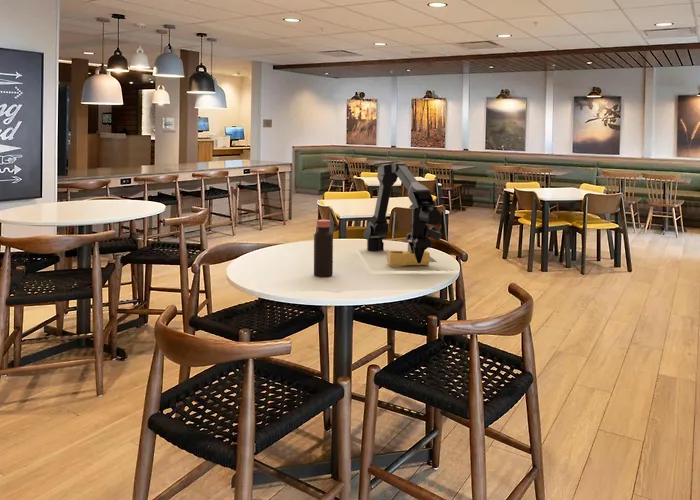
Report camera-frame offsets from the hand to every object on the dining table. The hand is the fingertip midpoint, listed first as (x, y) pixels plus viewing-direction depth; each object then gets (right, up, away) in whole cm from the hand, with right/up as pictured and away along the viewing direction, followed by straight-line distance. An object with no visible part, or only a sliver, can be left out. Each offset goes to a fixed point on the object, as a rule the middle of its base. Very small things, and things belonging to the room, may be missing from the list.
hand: (417, 261), depth 235 cm
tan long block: (-4, -1, 0) cm, 4 cm away
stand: (-1, 0, +15) cm, 15 cm away
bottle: (-36, -5, -13) cm, 38 cm away
